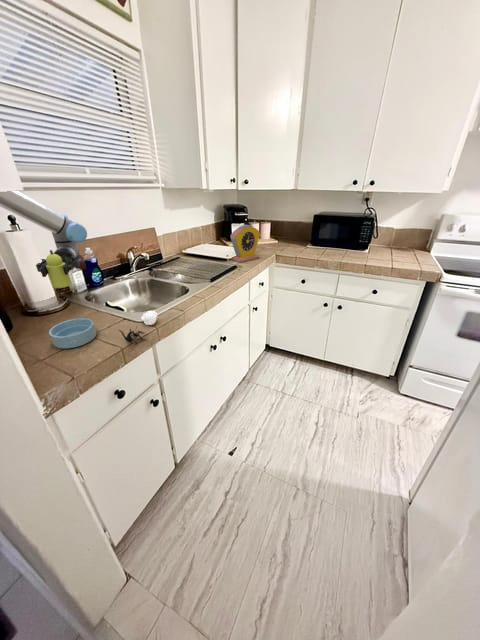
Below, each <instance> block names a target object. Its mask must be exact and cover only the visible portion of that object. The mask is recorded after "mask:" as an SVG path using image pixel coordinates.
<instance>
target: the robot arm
mask: <svg viewBox="0 0 480 640" xmlns="http://www.w3.org/2000/svg"><path fill="white" fill-rule="evenodd" d="M0 208H3V209H5V210H6V211H9V212H11V213H12V214H14V215H16V216H19V217H21V218H22V219H25V220H27V221H28V222H31V223H33V224H35V225H37V226H39V227H41V228H43V229H45V230H47V231H49V232H51V234H52V238H53V240H54V244H55V247H56V249H55V251H54V252H53V254H57V255H59V256H60V257H61V259H62V262H63V263H65V265H64V266H63V270H64V273H65V275H68V274H69V273H70V271H72V270H74V268H75V269H79V268H80V266H81V263H82V262H83V260H82V259H81V255H79V253H80V250H78V249H79V247H78V245H77V244H80V243H83V242H85V240H86V239H87V237H88V231H87V229H86V227H84V226H83V225H82V224H80V223H79V222H74V221H72V220H71V219H70V218H69V217H68V215H67V214H60V213H59V212H57V211H55V210H53V209H51V208H49V207H48V206H46V205H44V204H42V203H41V202H39V201H37V200H35V199H33V198H31V197H30V196H28V195H26V194H24V193H22V192H20V191H19V190H17V191H7V192H0ZM76 243H77V244H76ZM77 255H78V256H77ZM41 260H42V262H41V263H39V262H37V263H36V264H35V267H36V270H37V272H38V273H40V274H41V276H42V278H46V277H47V275H49V274H48V271H47V268H46V265H48V264H47V262H46V258H41V259H40V261H41Z"/></svg>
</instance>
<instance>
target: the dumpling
mask: <svg viewBox="0 0 480 640" xmlns="http://www.w3.org/2000/svg"><path fill="white" fill-rule="evenodd" d="M157 319H158V313H157V311H155V310H148V311H146V312H144V313H143V314H142V316H140V320H141V322H143V324H144V325H146V326H153V325H155V324H156V322H157Z"/></svg>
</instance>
